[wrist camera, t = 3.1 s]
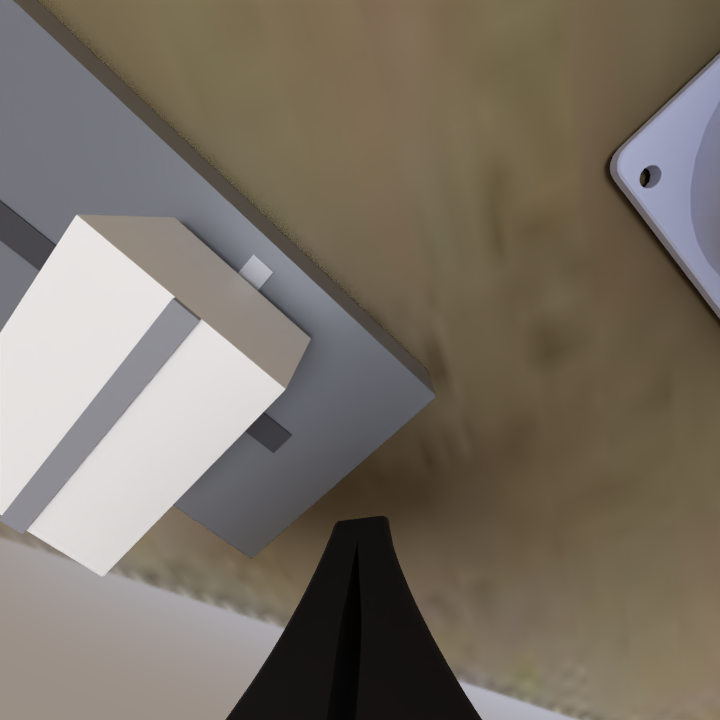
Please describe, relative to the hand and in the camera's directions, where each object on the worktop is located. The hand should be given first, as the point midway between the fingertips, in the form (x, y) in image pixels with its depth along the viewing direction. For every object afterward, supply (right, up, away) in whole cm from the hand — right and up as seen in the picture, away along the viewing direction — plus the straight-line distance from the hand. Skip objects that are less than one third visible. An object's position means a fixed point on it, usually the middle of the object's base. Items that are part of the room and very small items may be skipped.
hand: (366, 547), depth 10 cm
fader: (-5, +5, -1) cm, 7 cm away
